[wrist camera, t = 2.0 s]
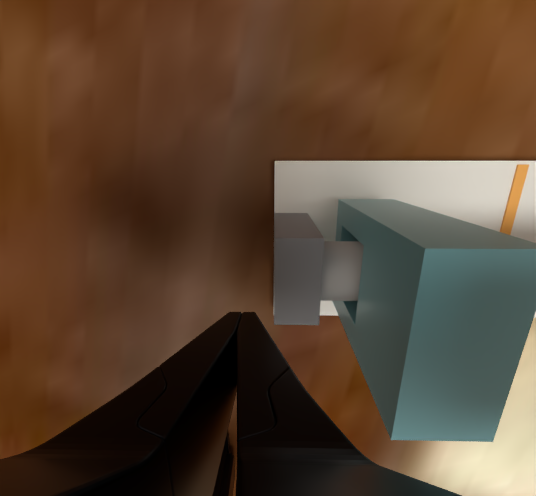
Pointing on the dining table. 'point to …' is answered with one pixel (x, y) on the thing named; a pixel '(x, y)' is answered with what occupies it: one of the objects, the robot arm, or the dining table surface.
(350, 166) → the pipe rig
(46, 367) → the dining table surface
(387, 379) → the sleeve collar
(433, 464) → the dining table surface
